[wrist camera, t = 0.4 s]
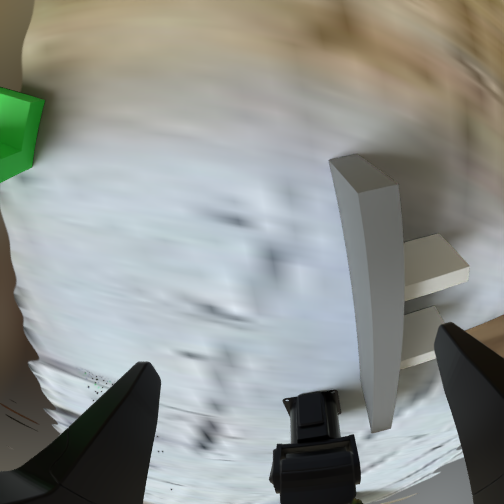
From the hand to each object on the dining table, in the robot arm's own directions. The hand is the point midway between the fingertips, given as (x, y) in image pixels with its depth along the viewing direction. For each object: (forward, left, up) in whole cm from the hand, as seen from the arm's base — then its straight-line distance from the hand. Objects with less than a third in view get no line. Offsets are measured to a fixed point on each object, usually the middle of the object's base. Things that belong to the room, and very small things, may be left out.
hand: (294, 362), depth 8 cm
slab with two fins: (-10, -8, -14) cm, 19 cm away
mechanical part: (+16, +21, -14) cm, 30 cm away
